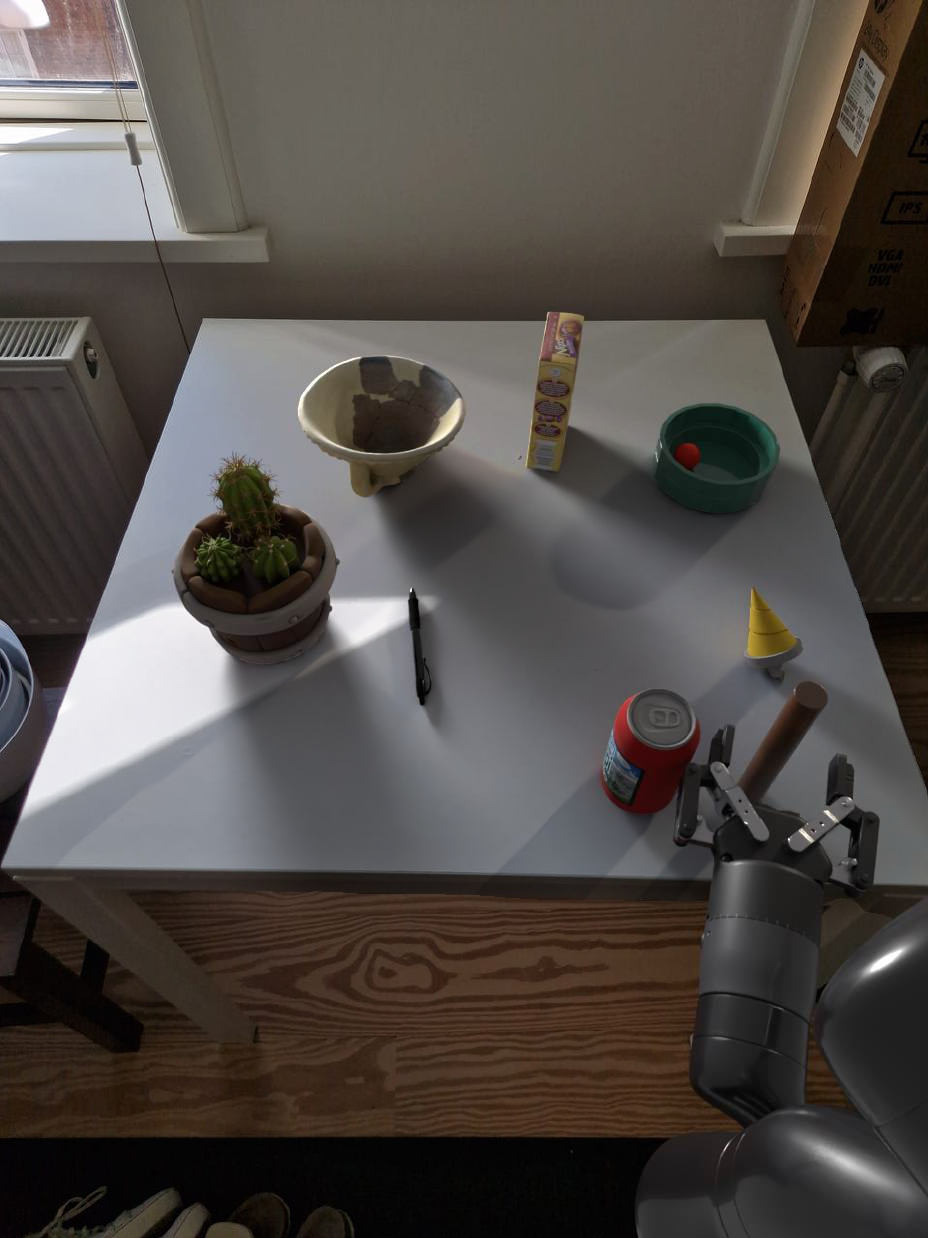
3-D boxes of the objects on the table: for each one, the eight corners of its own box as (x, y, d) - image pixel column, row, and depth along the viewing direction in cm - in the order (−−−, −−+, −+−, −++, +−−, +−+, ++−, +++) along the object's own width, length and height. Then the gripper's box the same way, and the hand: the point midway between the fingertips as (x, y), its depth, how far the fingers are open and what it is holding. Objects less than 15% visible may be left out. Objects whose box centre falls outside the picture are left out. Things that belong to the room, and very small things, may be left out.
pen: (434, 706, 81) (434, 700, 80) (416, 708, 81) (416, 702, 80) (422, 591, 89) (422, 584, 88) (406, 592, 89) (406, 585, 88)
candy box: (562, 474, 99) (576, 365, 87) (525, 469, 100) (534, 360, 87) (570, 423, 104) (585, 313, 92) (535, 418, 105) (545, 309, 92)
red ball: (698, 459, 100) (704, 440, 97) (695, 477, 98) (700, 457, 96) (673, 454, 100) (678, 435, 98) (669, 471, 99) (674, 452, 96)
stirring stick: (763, 785, 76) (829, 685, 62) (760, 809, 75) (827, 712, 61) (735, 777, 77) (796, 677, 63) (732, 801, 75) (793, 703, 62)
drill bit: (749, 697, 82) (717, 602, 80) (762, 675, 86) (733, 583, 84) (805, 690, 79) (774, 590, 77) (817, 667, 83) (787, 572, 81)
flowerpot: (340, 688, 82) (311, 552, 66) (182, 683, 82) (114, 547, 66) (357, 570, 91) (334, 425, 74) (213, 566, 91) (160, 421, 75)
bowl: (432, 538, 93) (430, 475, 86) (285, 497, 97) (269, 433, 89) (485, 435, 103) (487, 370, 95) (349, 401, 107) (341, 335, 99)
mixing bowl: (772, 448, 102) (785, 416, 98) (760, 527, 94) (773, 495, 90) (662, 426, 104) (670, 393, 100) (642, 501, 97) (650, 468, 93)
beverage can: (596, 748, 78) (615, 679, 69) (670, 750, 78) (699, 681, 68) (601, 817, 74) (622, 754, 65) (679, 820, 74) (711, 757, 65)
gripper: (890, 964, 54) (895, 745, 63) (667, 896, 57) (702, 695, 66) (847, 991, 60) (857, 788, 69) (647, 929, 63) (682, 741, 72)
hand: (782, 743), depth 67 cm, fingers open, 8 cm apart
